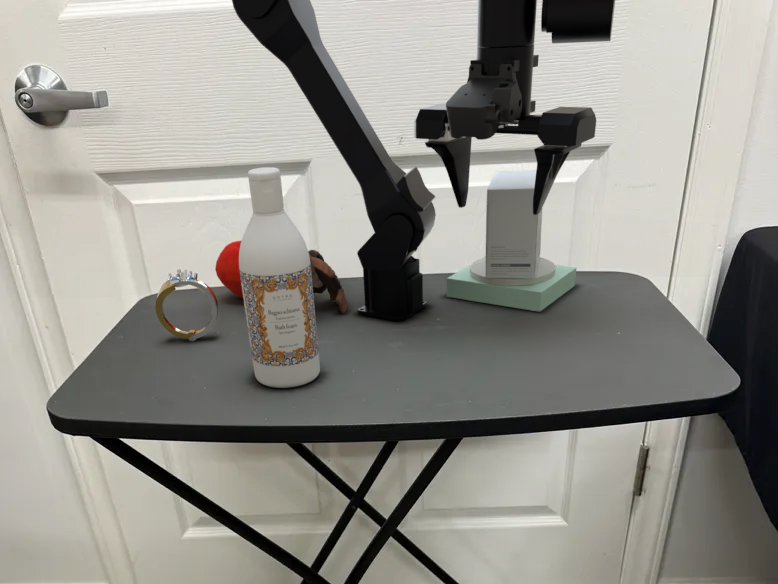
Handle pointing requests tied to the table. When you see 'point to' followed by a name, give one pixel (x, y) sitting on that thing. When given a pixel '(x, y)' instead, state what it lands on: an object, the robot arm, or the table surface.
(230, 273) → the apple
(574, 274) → the scale
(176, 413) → the table surface
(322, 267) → the brown curved piece
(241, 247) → the bath foam
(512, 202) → the cosmetics box
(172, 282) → the ring
